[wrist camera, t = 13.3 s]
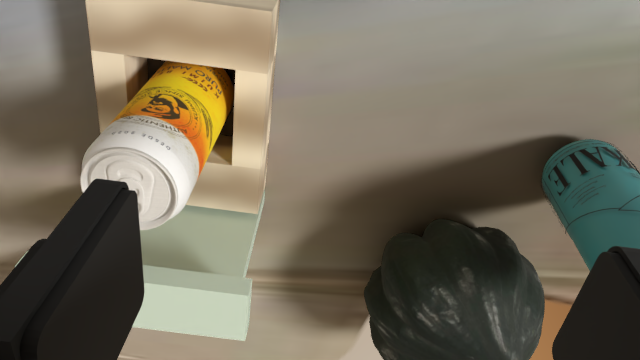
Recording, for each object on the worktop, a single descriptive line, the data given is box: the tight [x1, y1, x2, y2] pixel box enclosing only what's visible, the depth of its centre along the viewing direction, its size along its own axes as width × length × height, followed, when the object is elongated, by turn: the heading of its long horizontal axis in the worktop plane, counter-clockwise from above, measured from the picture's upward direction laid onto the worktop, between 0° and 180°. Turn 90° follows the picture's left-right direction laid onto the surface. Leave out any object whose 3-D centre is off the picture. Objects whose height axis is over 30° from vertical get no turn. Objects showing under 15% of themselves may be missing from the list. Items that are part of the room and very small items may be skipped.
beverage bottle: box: [541, 139, 640, 271], centre depth 35 cm, size 6×7×20 cm
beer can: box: [80, 61, 234, 230], centre depth 35 cm, size 6×6×15 cm
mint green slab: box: [15, 190, 265, 341], centre depth 39 cm, size 4×14×16 cm, turn 83°
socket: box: [85, 0, 280, 214], centre depth 40 cm, size 16×12×4 cm
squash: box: [364, 219, 545, 360], centre depth 44 cm, size 14×15×15 cm
